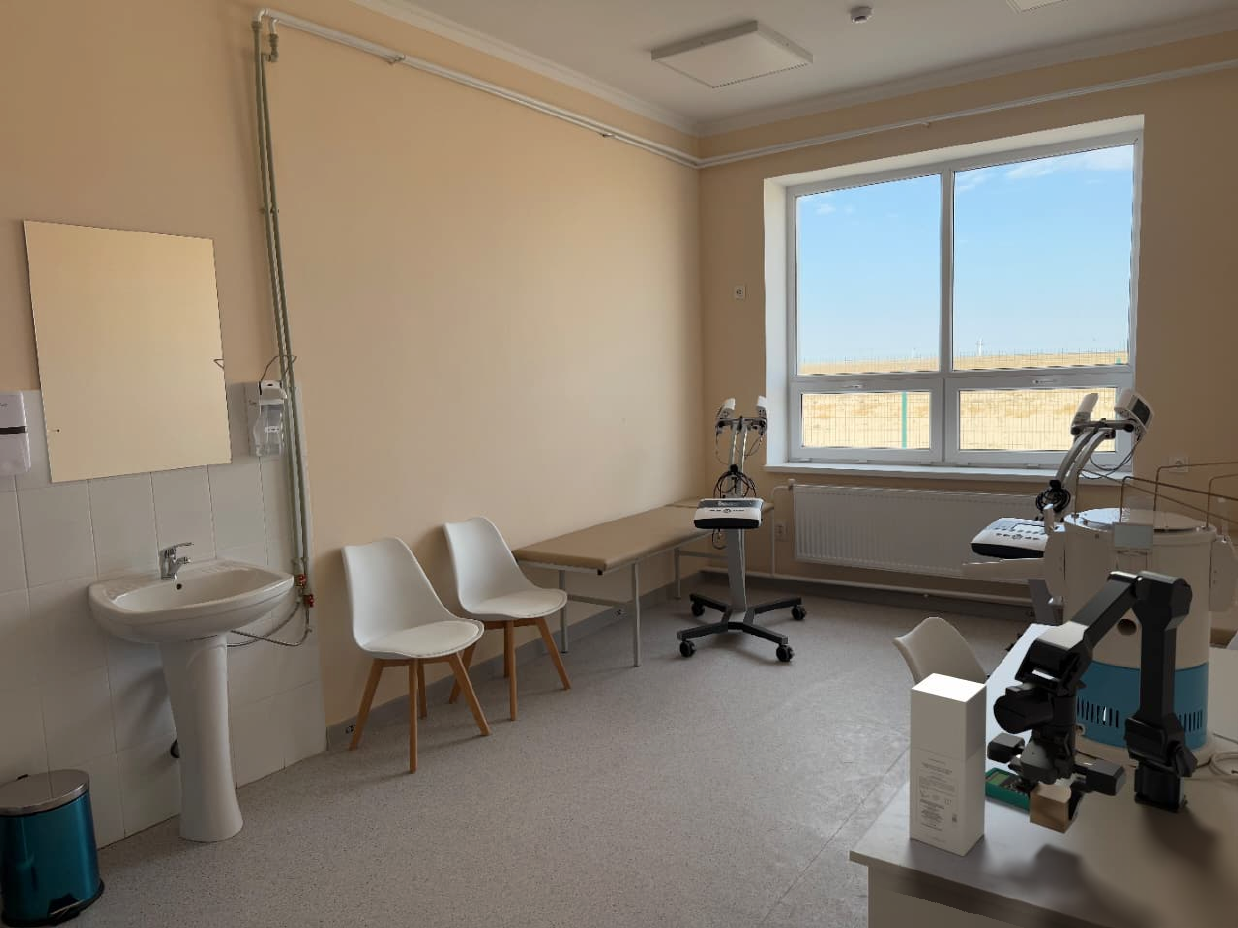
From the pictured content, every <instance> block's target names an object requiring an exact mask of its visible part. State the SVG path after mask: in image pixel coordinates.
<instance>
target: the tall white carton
mask: <svg viewBox="0 0 1238 928" xmlns="http://www.w3.org/2000/svg"><path fill="white" fill-rule="evenodd" d="M987 690H988V686H987V685H986V684H984V683H978V682H974V681H971V680H966V679H961V678H957V677H954V676H949V675H944V674H940V673H935V672H933V673H931V674H930V675H929V676H927V677H925V678H924V679H923V680H922V681H920V682H919V683H917V684H916V685H915V686H913V687H911V689H910V731H909V732H910V737H909V738H910V745H909V838H911V839H914V840H917V841H920V842H922V843H925V844H927V845H930V846H933V847H936V848H938V849H941V850H944V851H946V852H950V853H953V854H955V855H957V856H960V857H965V856H966V855H967V854H968V852H969V851H970V850H971V849H972V848H973V847H974V846H975V845H976V843H977V842H978V840H979V839H980V838H981V837H982V836H983V835H984V834H985V821H986V820H985V816H986V815H985V814H986V795H985V772H986V767H987V766H986V764H987V762H986V760H987V759H986V758H987V741H986V739H987V695H988V693H987V692H988V691H987Z"/></svg>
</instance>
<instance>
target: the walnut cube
mask: <svg viewBox="0 0 1238 928" xmlns="http://www.w3.org/2000/svg"><path fill="white" fill-rule="evenodd" d="M1070 796H1071V790H1070V787H1069V788H1068V787H1065V786H1062V785H1058V784H1056V783H1055V784H1053V785H1046V784H1043V783H1042V782H1040V783H1039V784H1038V785H1037V786H1036V787H1035V788H1034V789H1033V790H1032V791H1031V796H1030V810H1029V822H1030V823H1031V824H1034V825H1037V826H1039V827H1043V828H1046V829H1049V830H1051V831H1055V832H1058V833H1061V834H1065V833H1066V832H1067V831H1068V829H1069V828H1070V827H1071V826H1072V825H1073V823H1074V822H1075V821H1076V815H1075V816H1074V818H1073V820H1072V821H1070V820H1069V817H1068V810H1069V803H1070Z"/></svg>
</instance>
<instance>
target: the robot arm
mask: <svg viewBox="0 0 1238 928" xmlns="http://www.w3.org/2000/svg"><path fill="white" fill-rule="evenodd" d="M1192 599H1193V590H1192V586H1191V584H1190V583H1188V582H1187V580H1186V579H1184V578H1183V577H1177V576H1173V575H1169V574H1163V573H1160V572H1159V573H1158V572H1154V571H1150V570H1141V571H1140V572H1138V573H1137V574H1135V573H1133V572H1132V573H1131V572H1127V571H1123V570H1117V571H1112V572H1111V573H1110V574H1109V575H1108V576H1107V579H1106V582H1105V584H1103V585H1102V586H1101V588H1100V589H1098V591H1096V593H1094V595H1093V596H1091V598H1090V599H1089V600H1088V601H1087V602H1086V603H1085V604H1084V605H1083V606H1081V608H1079V610H1078V611H1077V612H1076V613H1075V614H1074V615H1073V616H1072V617H1071V618H1070V619H1069V620H1068V621H1066V623H1064V624H1062V625H1058V626H1054V627H1051V628H1048V629H1047V630H1045V631H1044V632H1043V633H1041V634H1040V635H1038V636H1037V637H1036V638H1034V640H1033V641H1032V642H1031V643H1030V646H1029V647H1028V648H1027V651H1026V654H1025V655H1024V657H1023V659H1022V660H1021V663H1020V665H1019V667H1018V669H1017V671H1016V673H1015V675H1014V680H1015V681H1016V682H1020V683H1022V684H1018V685H1010V686H1006V687H1005V689H1004V694H1003V695H1000V696H999V697H997V698H996V700H995V702H994V704H993V707H992V710H993V715H994V719H995V720H996V723H997V725H999V727H1000V728H1001V729H1002V731H1001V732H1000V733H999V734H998V735H995V737H994V738H992V739H991V740H990V741H989V742H988V743H987V745H986V758H987V759H988V760H990V761H994V762H997V763H1000V764H1003V765H1006V764H1007V768H1008V770H1011V771H1012V772H1013V773H1014V774H1016V775H1019V776H1020V778H1021V780H1022V782H1023V784H1024V787H1025V790H1026V792H1027V795H1028V798H1029V800H1030V796H1031V791H1032V790H1033V789H1034V788H1035V787H1036V786H1037V785H1038V784H1039V782H1042V783H1043V784H1046V785H1053V784H1056V782H1057V780H1061V779H1065V780H1068V781H1069V780H1070V779H1071V777H1072V775H1074V778H1075V779H1074V780H1073V781H1072V782H1071V784H1070V785H1069V789H1070V790H1071V796H1070V803H1069V810H1068V817H1069V820H1070V821H1072V820H1073V818H1074V816H1075V817H1076V814H1077V812H1078V810H1079V808H1080V806H1081V804H1082V801H1083V799H1084V798H1085V795H1086V794H1092V793H1094V792H1095V793H1100V794H1103V795H1106V796H1109V797H1114V796H1115V797H1116V796H1117V795H1118V793H1119V792H1120V791H1121V790H1122V788H1123V787H1124V786H1125V784H1126V780H1127V771H1126V770H1125V768H1124V767H1123V766H1122V764H1120V763H1119V764H1118V763H1114V762H1111V761H1107V760H1104V759H1101V758H1096V759H1095V761H1093V762H1092V763H1090V762H1089V763H1088V762H1081V761H1077V760H1076V756H1077V755H1078V748H1076V741H1077V739H1076V738H1077V737H1076V735H1077V734H1076V733H1077V731H1078V730H1079V723H1078V722H1077V705H1078V704H1077V702H1078V691H1081V690H1084V689H1086V688H1087V683H1085V682H1084V681H1083V680H1082V679H1081V678H1082V677H1083V676H1084V674H1085V673H1086V671H1087V670H1088V668H1089V667H1090V666H1091V664H1092V663H1093V655H1094V651H1093V650H1094V648H1095V647H1096V645H1097V644H1098V643H1099V642H1100V641H1101V640H1102V639H1103V638H1104V637H1105V636H1106V635H1107V633H1109V632H1110V630H1112V629H1113V627H1114V626H1115V625H1116V624H1117V623H1118V622H1119V621H1120V620H1121V619H1122V618H1123V617H1124V616H1125V615H1126V614H1127V612H1129V610H1132V612H1133V614H1134V615H1135V618H1136V619H1137V620H1138V622H1139V623H1140V626H1141V628H1140V629H1141V631H1140V632H1141V633H1140V662H1139V663H1140V664H1139V665H1140V667H1139V699H1138V700H1139V701H1138V702H1139V703H1138V708H1137V709H1136V711H1134V712H1133V714H1132V715H1131V716H1130V717H1127V718H1125V720H1124V721H1123V722H1124V735H1123V738H1122V739H1123V740H1124V741H1125V747H1126V749H1127V752H1128V757H1129V759H1130V760H1134V761H1136V762H1137V761H1138V764H1137V766H1136V767H1135V768H1134V773H1133V775H1134V777H1133V792H1134V793H1135V794H1134V795H1133V800H1134V801H1137V802H1140V803H1144V804H1146V805H1150V806H1154V807H1156V808H1161V809H1164V810H1167V811H1170V812H1174V813H1178V812H1179V811H1180V810H1181V808H1182V807H1183V805H1184V803H1185V802H1186V800H1187V795H1186V794H1185V779H1186V778H1192V777H1193V774H1194V773H1196V769H1197V767H1198V762H1199V760H1198V758H1197V757H1196V756H1195V754H1193V752H1192V751H1191V750H1190V749H1189V747H1188V746H1187V745H1186V741H1187V740H1186V731H1185V727H1184V726H1183V725H1182V722H1180V720H1179V718H1178V715H1177V714H1176V712H1175V689H1176V687H1175V686H1176V685H1175V684H1176V657H1177V631H1178V627H1179V626H1180V625H1181V624H1182V622H1183V621H1185V619H1186V618H1187V617H1188V616H1189V614H1190V608H1191V603H1192ZM1034 671H1035V672H1036V673H1034ZM1037 672H1038V673H1040V674H1043V675H1046V676H1049V677H1051V678H1047V677H1045V676H1043V675H1039V674H1037ZM1003 731H1004V732H1003ZM1029 731H1031V732H1030V733H1031V735H1030V738H1029V739H1028V742H1027V744H1026V740H1025V738H1024V737H1021V736H1017V735H1018V734H1022V733H1024V732H1025V733H1026V732H1029ZM1008 763H1009V764H1008Z"/></svg>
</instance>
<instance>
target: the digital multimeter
mask: <svg viewBox="0 0 1238 928" xmlns="http://www.w3.org/2000/svg"><path fill="white" fill-rule="evenodd" d="M1039 783H1040V782H1039ZM986 796H987V797H990V798H993V799H995V798H996V800H999V801H1002V802H1005V803H1007V804H1011V805H1013V806H1017V807H1020V808H1021V809H1022V808H1023V809H1024V810H1027V811H1030V800H1029V798H1028V795H1027V792H1026V790H1025V787H1024V784H1023V782H1022V780H1021V778H1020V776H1019V775H1018V774H1017V773H1014V772H1010V771H1007V770H1005V769H1002V768H999V767H992V768H990V769H988V770H987V771H985V797H986Z"/></svg>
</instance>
